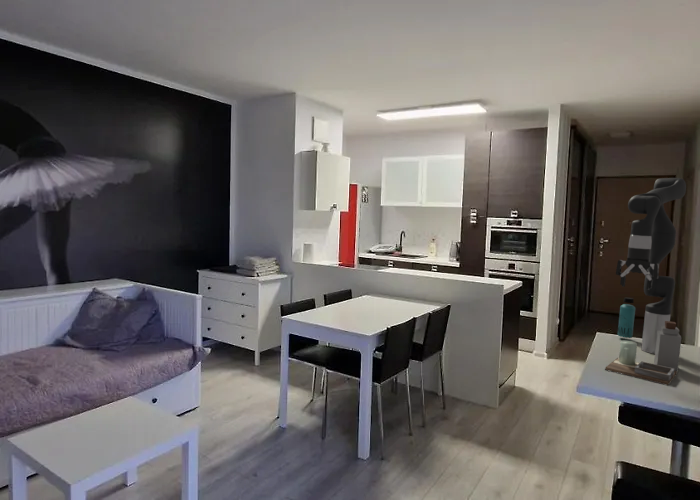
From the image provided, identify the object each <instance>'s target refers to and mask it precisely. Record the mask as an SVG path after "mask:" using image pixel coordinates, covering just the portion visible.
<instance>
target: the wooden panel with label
mask: <svg viewBox="0 0 700 500" xmlns="http://www.w3.org/2000/svg"><path fill="white" fill-rule="evenodd" d="M605 370H607V371H610V372H615V373H617V372H618V373H619V374H621V373H622V374H621V375H625V374H626V376H629V375H631V376H630V377H633V376H634V378H637V379H643V380H646V381H651V382H654V383H659V384H661V385H662V384H663V385H666V386H669V385H670V383H671V382H672V380H673V379H674V378H675V377H676V375H677V374H678V372H677V371H675V369H674V368H669V367H665V366H660V365H656V364H654V363H651V362H646V361H640V362H637V361H636V363H635V365H626V364H622V363H620V362H619V357H617V358H615V359H614V360H613V361H611V362H610V363H609V364H608V365H606V366H605ZM618 373H617V374H618Z"/></svg>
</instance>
